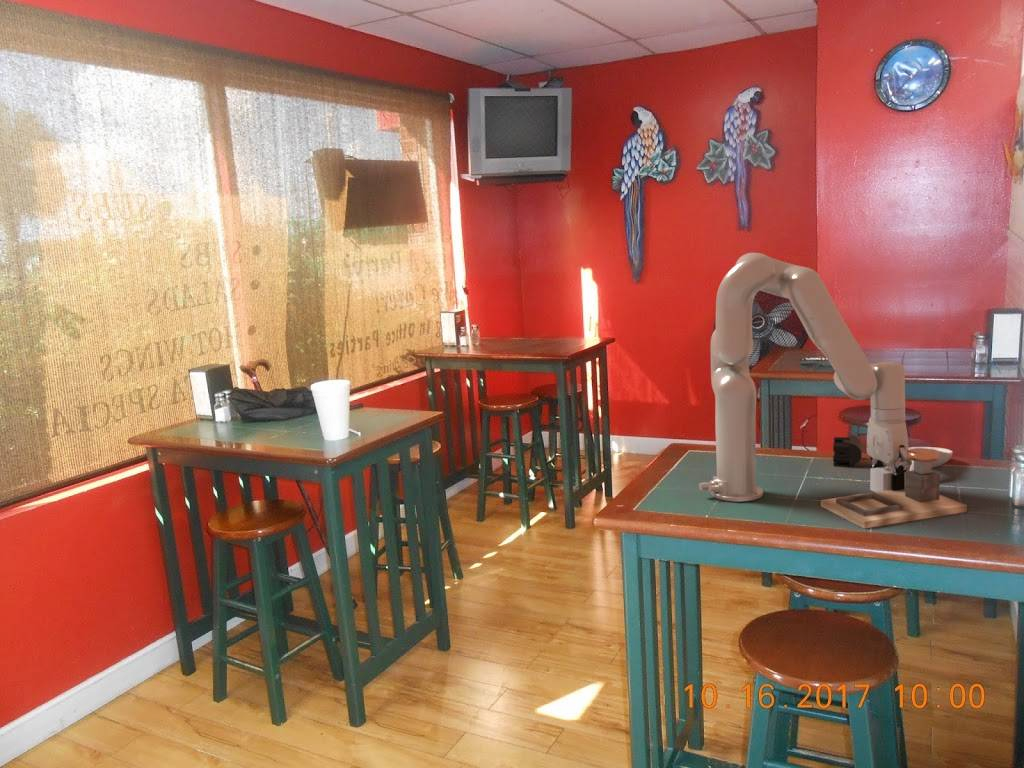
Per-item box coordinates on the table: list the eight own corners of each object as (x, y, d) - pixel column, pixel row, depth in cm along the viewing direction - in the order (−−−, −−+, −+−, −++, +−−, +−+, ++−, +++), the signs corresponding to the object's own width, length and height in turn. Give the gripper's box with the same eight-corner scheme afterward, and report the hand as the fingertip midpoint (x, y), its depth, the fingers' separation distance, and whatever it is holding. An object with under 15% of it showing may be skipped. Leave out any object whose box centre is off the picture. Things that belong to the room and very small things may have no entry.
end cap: (861, 468, 218) (861, 444, 217) (833, 467, 221) (833, 443, 220) (861, 458, 227) (861, 434, 226) (834, 457, 230) (834, 434, 229)
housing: (883, 495, 196) (883, 472, 195) (870, 489, 201) (870, 467, 200) (901, 493, 197) (902, 470, 196) (888, 487, 202) (888, 464, 201)
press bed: (864, 528, 176) (864, 495, 175) (820, 506, 191) (820, 475, 190) (966, 511, 182) (967, 479, 180) (916, 491, 197) (916, 461, 196)
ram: (920, 486, 183) (920, 457, 182) (900, 479, 190) (901, 450, 188) (944, 483, 185) (945, 453, 184) (924, 475, 191) (925, 446, 190)
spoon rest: (906, 456, 226) (906, 431, 225) (954, 460, 220) (955, 434, 219) (894, 480, 207) (894, 453, 205) (946, 485, 200) (947, 457, 199)
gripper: (852, 409, 203) (853, 478, 206) (897, 423, 186) (898, 498, 189) (879, 405, 204) (880, 474, 207) (926, 418, 187) (926, 493, 190)
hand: (888, 485), depth 198 cm, fingers open, 6 cm apart
